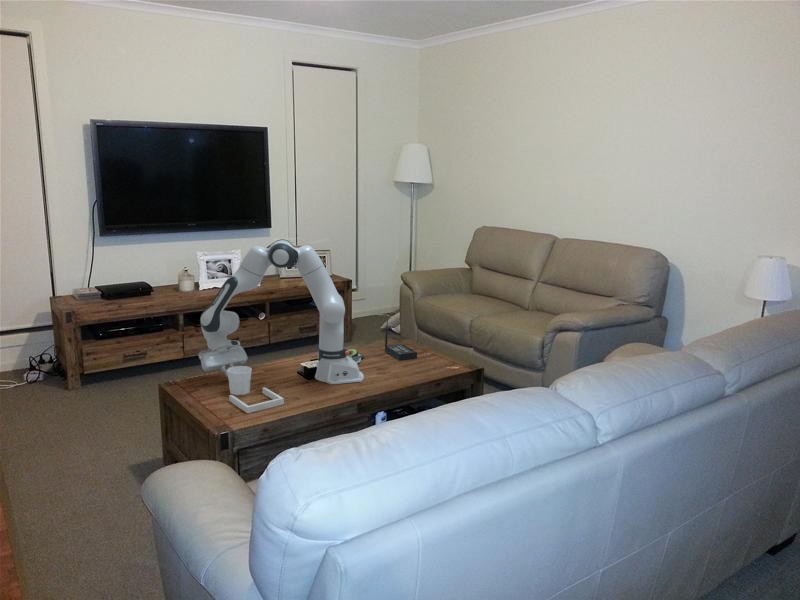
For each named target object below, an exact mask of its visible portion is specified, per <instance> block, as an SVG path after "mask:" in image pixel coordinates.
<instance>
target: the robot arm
mask: <svg viewBox="0 0 800 600" xmlns="http://www.w3.org/2000/svg"><path fill="white" fill-rule="evenodd" d="M271 266H274V267H276V268H279V269H281V268H282V269H283V268H289V267H295V268H296V269H297V271H298V272H299V274H300V276H301V278H302V280H303V281H304V284H305V285H306V288H307V289H308V290H309V292H310V295H311V297H312V299H313V301H314V303H315V305H316V308H317V310H318V311H319V326H318V327H319V333H318V334H319V336H318V340H319V341H318V348H317V367H316V372H315V375H314V379H315V380H317V381H319V382H321V383H322V382H323V383H327V384H328V385H339V384H350V383H351V384H352V383H360V382H361V383H362V382H363V381H364V380H365V376H364V373H363V372H362V371H360V368H359V364H358V363H356V362H355V361H354V360H353V359H351V358H350V357H349V351H348V350H349V349H347V348H346V347H344V340H345V339H344V338H345V337H344V336H345V332H344V331H345V329H344V325H345V324H344V323H345V322H344V321H345V320H344V318H345V314H346V307H345V302H344V299H343V297H342V296H341V294H340V293H339V292H338V291H337V288H336V285H335V284H334V281H333V280H332V277H331V276H330V274H329V272H328V270H327V268H326V266H325V264H324V262H323V261H322V259H321V257H320V256H319V255H318V253H317V251H316V250H314V248H313V247H312V246H311V245H302V246H299V247H294V245H293V243H292V242H291V241H289V240H287V239H284V238H283V239H278V240H275V241H274V242H272V243H271V244H269V245H268V246H267V247H264V246H261V245H254V246H252V247H251V248H250V249H249V250H248V251H247V253H246V254H245V255H244V258H243V259H242V260H241V263H240V264H239V267H238V268H237V270H236V271H235V272H234V273H233V275H231V276H230V277H228V278H227V279H226V281H224V283H223V284H222V286H221V287H220V288H219V290H218V292H217V293H216V295H215V296H214V297H213V300H211V302H210V304H209V305H208V306H207V307H206V308H205V309H204V310H203V311H202V313H201V314H200V318H199V322H200V327H201V332H202V334H203V336H204V339H205V340H206V345H207V348H208V349H205V350H200V352H198V354H197V355H198V359H199V360H200V364H201V368H202V370H203V371H204V372H208V371H214V370H219V369H220V371H221V372H223V373H224V374H225V376H226V377H228V373H227V368H230V367H234V366H241V365H243V364H246V363H247V361H248V354H247V353H246V351H245V349H244V348H243V347H242V346H241V341H239V340H235V339H234V340H233V339H228V338H227V336H228V335H231V334H233V333H235V332H236V331H237V330H238V329H239V327H240V325H241V324H240V322H241V321H240V316H239V314H238V313H237V312H235V311H230V310H225V308H226V307H227V305H228V304H229V302H230V300H231V299H232V298H233V297H234V296H235V295H237V294H240V293H243V292H248V291H252V290H253V289H256V288H258V286H259V285H260V284H261V282H262V281H263V279H264V276H265V274H266V272H267V270H268V268H270V267H271Z"/></svg>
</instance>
